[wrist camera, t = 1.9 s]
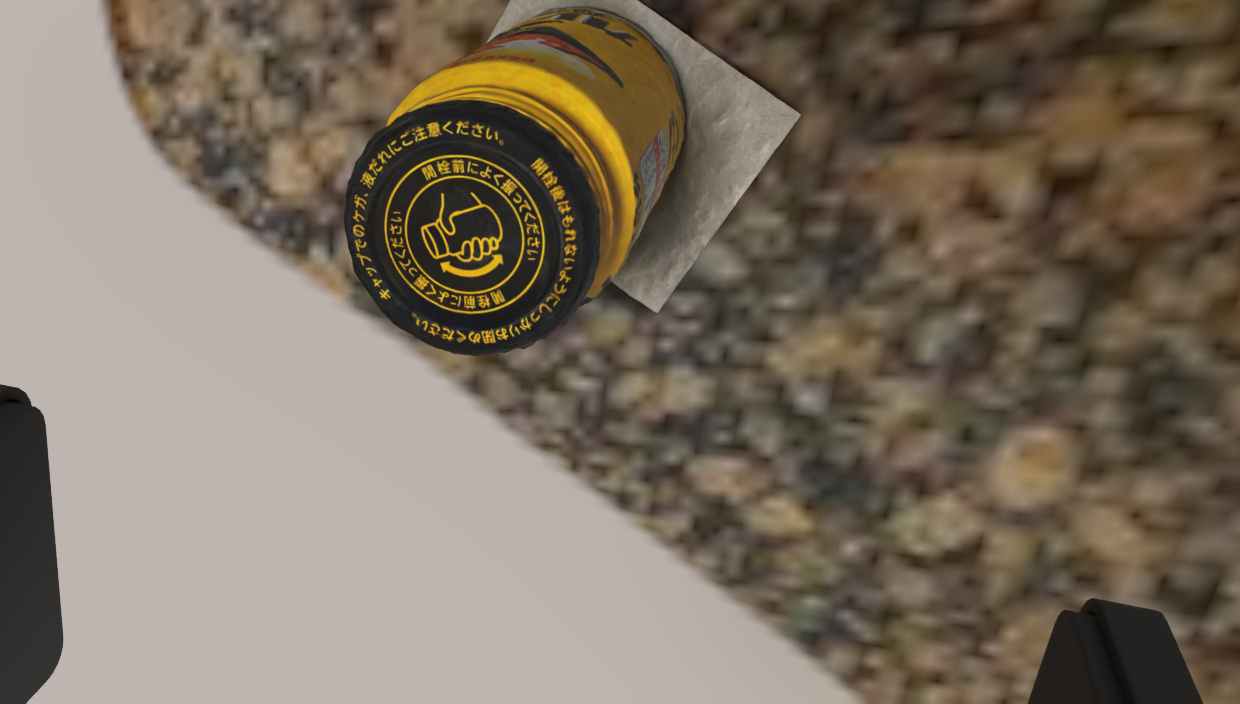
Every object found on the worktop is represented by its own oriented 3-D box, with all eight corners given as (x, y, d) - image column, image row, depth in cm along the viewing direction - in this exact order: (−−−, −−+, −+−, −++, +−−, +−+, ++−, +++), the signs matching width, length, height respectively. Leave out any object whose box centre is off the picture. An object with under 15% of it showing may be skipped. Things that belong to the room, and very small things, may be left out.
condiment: (547, -64, 32) (396, -11, 21) (801, 113, 33) (780, 251, 22) (424, 152, 35) (237, 294, 24) (659, 309, 36) (578, 515, 25)
